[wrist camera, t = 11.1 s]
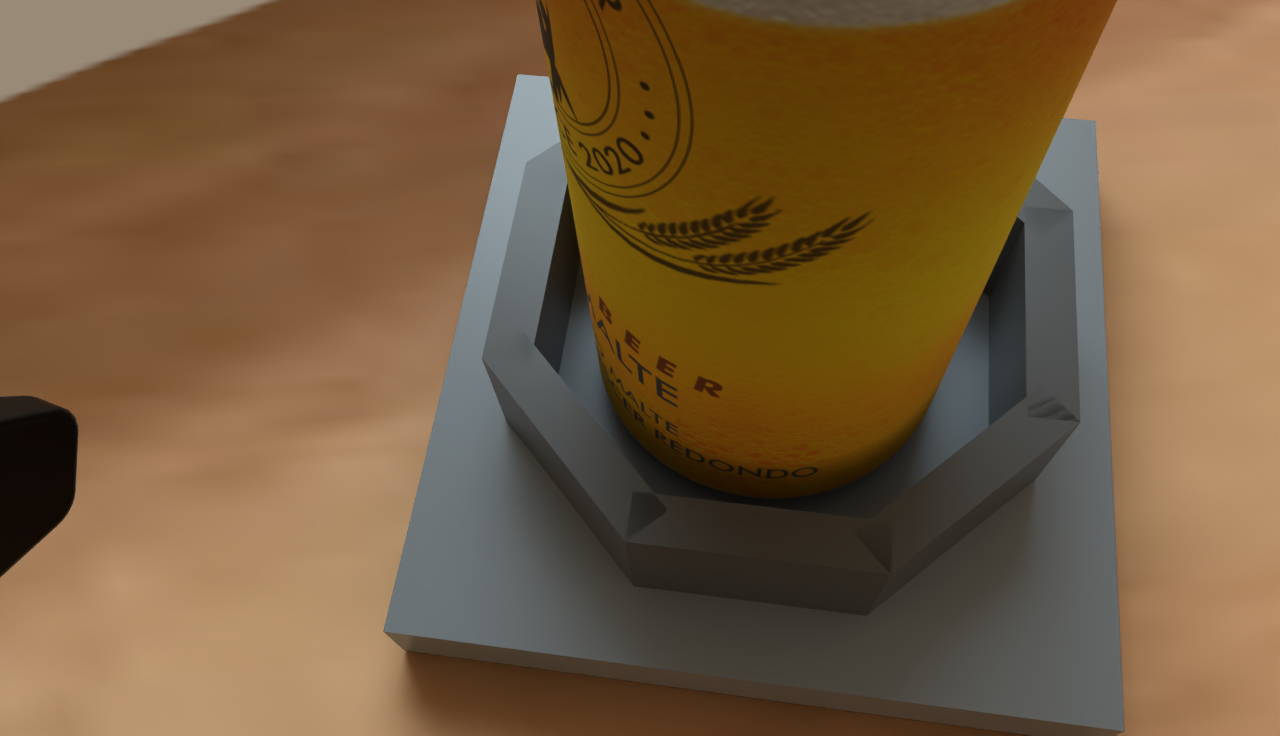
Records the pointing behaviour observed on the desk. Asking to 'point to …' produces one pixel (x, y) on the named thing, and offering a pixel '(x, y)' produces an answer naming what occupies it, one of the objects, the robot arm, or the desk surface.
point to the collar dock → (780, 527)
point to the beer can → (797, 210)
